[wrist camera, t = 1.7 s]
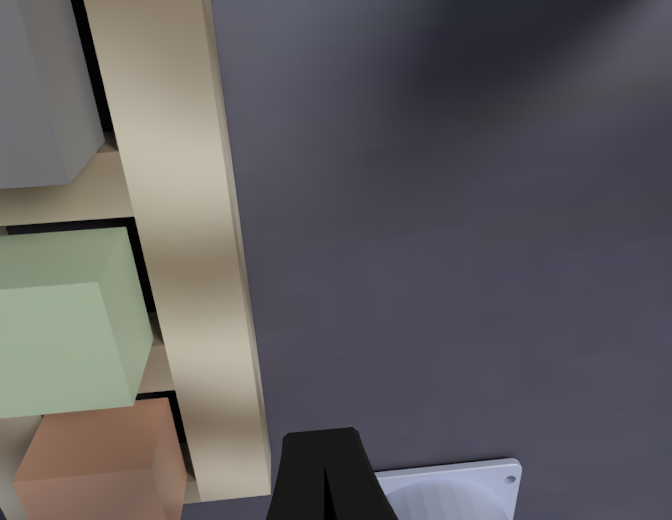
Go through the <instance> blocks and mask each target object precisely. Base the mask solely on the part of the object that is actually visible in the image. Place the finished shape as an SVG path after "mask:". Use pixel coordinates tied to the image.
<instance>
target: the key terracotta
mask: <svg viewBox="0 0 672 520" xmlns="http://www.w3.org/2000/svg"><path fill="white" fill-rule="evenodd" d="M186 482H187V474H186V469H185V465H184V461H183V457H182V453H181V449H180V445H179V441H178V437H177V433H176V429H175V425H174V421H173V416H172V412H171V408H170V404H169V400H168V397H167V398H156V399H145V400H135V403H134V406H128V407H118V408H107V409H96V410H86V411H75V412H65V413H54V414H45V415H44V417H43V419H42V421H41V423H40V425H39V427H38V429H37V431H36V433H35V436H34V438H33V440H32V442H31V444H30V446H29V448H28V450H27V452H26V454H25V456H24V458H23V460H22V463H21V465H20V467H19V469H18V471H17V473H16V475H15V477H14V479H13V481H12V484H13V486H14V489H15V491H16V493H17V495H18V497H19V499H20V501H21V503H22V505H23V507H24V510H25V512H26V514H27V516H28V518H29V520H180V519H181V513H182V507H183V500H184V494H185V488H186Z"/></svg>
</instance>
